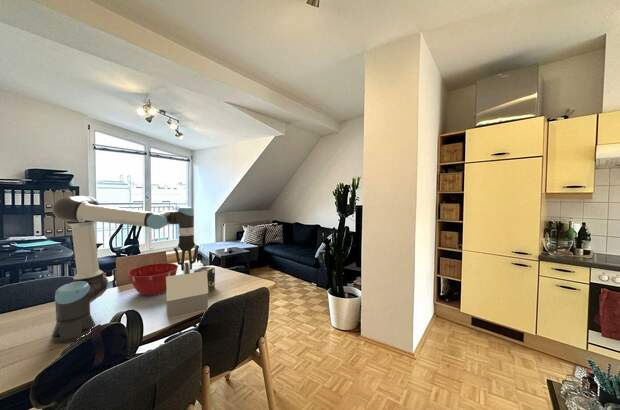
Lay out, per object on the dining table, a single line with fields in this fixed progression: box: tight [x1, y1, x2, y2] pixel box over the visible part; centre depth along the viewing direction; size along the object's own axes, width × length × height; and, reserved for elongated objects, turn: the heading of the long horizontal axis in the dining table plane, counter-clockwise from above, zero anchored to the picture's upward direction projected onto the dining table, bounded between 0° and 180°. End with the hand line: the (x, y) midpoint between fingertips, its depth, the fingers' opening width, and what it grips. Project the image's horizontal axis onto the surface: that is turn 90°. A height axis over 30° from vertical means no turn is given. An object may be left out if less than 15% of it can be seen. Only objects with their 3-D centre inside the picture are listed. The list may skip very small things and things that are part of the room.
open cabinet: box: [165, 292, 209, 320], centre depth 144 cm, size 20×12×10 cm, turn 123°
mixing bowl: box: [127, 262, 179, 297], centre depth 168 cm, size 28×28×16 cm
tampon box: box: [193, 266, 216, 293], centre depth 172 cm, size 11×9×15 cm
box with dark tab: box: [166, 262, 209, 301], centre depth 142 cm, size 21×18×6 cm
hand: (186, 275), depth 143 cm, fingers closed on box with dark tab, 2 cm apart
